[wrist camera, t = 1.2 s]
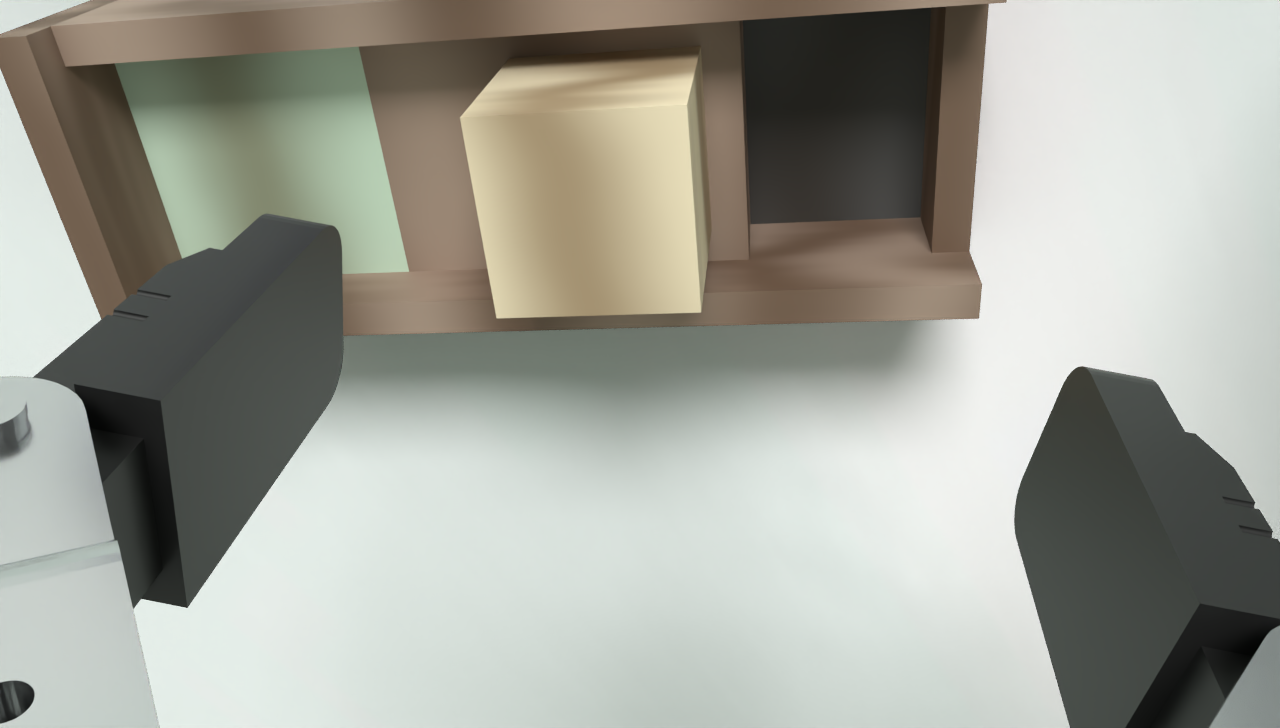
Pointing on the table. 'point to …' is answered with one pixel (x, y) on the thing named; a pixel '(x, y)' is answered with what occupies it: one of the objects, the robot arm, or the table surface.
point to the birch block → (593, 183)
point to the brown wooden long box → (437, 161)
